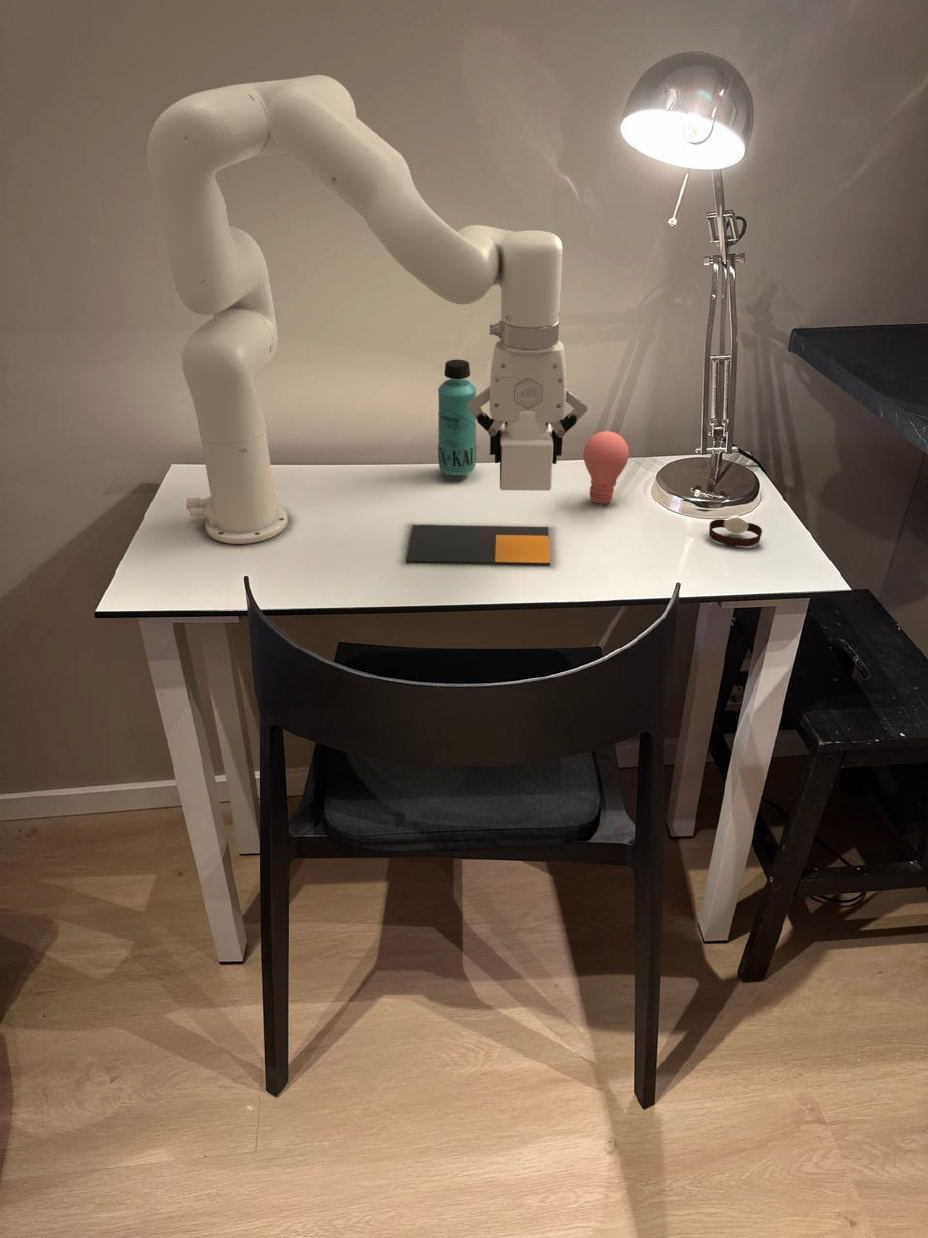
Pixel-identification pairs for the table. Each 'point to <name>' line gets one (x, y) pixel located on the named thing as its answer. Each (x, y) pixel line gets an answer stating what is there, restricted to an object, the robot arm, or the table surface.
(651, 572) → the table surface
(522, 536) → the desk mat
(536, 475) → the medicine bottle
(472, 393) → the beverage bottle
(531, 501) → the table surface
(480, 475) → the table surface
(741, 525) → the watch
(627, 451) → the light bulb
